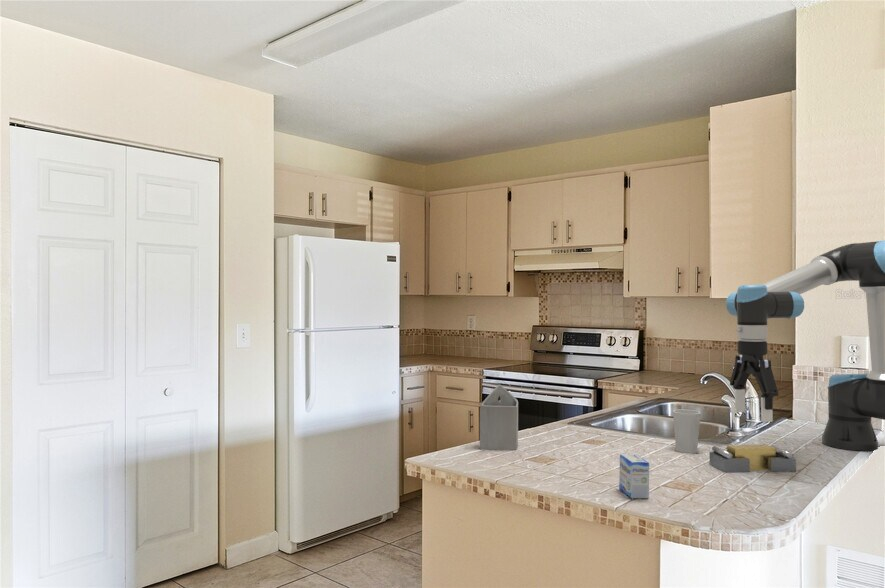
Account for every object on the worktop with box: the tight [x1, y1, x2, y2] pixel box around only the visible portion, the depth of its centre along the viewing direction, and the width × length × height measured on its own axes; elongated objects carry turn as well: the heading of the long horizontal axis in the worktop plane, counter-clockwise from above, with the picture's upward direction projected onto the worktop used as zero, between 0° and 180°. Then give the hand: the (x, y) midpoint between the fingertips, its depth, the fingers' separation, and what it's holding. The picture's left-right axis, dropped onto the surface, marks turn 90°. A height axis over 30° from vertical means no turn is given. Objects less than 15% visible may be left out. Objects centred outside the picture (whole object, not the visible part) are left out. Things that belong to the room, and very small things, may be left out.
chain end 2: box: [767, 445, 797, 473], centre depth 176 cm, size 7×8×5 cm
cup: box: [672, 408, 701, 454], centre depth 195 cm, size 8×8×12 cm
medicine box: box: [618, 453, 650, 499], centre depth 151 cm, size 8×4×9 cm, turn 5°
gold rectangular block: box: [726, 444, 776, 471], centre depth 176 cm, size 12×4×6 cm, turn 97°
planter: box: [479, 384, 519, 451], centre depth 197 cm, size 16×8×19 cm, turn 129°
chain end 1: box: [708, 445, 751, 473], centre depth 175 cm, size 7×8×5 cm
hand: (752, 416), depth 176 cm, fingers open, 13 cm apart
